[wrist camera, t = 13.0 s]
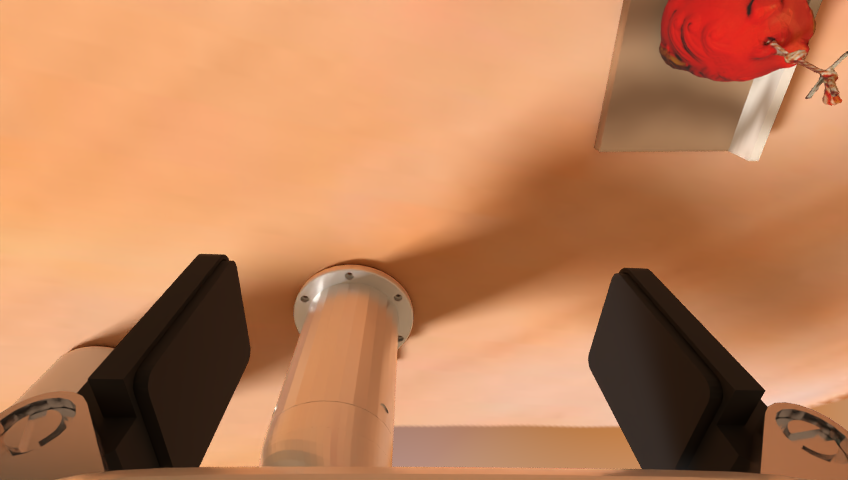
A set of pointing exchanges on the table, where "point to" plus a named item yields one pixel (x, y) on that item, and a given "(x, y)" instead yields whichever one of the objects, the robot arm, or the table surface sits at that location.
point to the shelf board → (680, 97)
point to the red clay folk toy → (741, 40)
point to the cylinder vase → (69, 371)
